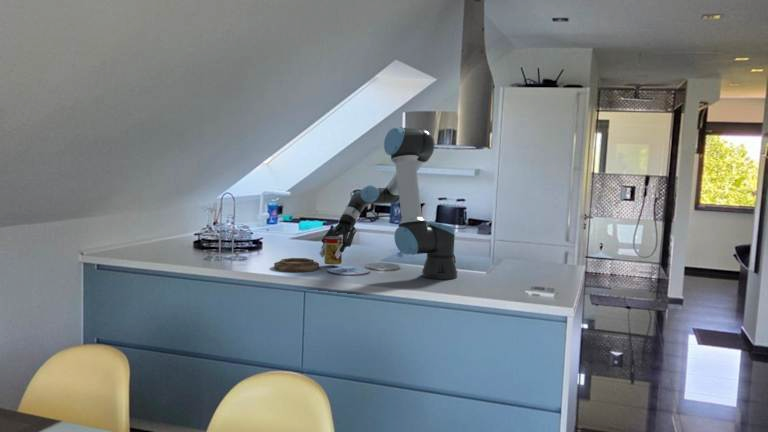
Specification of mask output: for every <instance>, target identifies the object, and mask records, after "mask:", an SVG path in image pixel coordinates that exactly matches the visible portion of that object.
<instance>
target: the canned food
mask: <svg viewBox="0 0 768 432" xmlns="http://www.w3.org/2000/svg"><path fill="white" fill-rule="evenodd" d="M342 241H343V236H328V237H325V255H324V262H323V263H324V264H325V265H331V266H332V265H333V266H334V265H335V266H336V265H341V264H342V263H343V262H342V260H343V258H342V255H343V254H342V253H343V252H342V253H341V255H340V257H339V258H338V259H337V258H336V257H335V253H336V251H337V249H338V248H339V246H340V244H342ZM342 245H343V244H342Z"/></svg>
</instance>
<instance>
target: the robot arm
mask: <svg viewBox="0 0 768 432" xmlns="http://www.w3.org/2000/svg"><path fill="white" fill-rule="evenodd" d="M383 142H384V143H383V149H384V152H385V153H386V155H389V156H390V160H391V162H392V163H393V164H395V174H394V175H393V177H392V178H391V180H390V181H389V182H388V183H387V185H386V187H376V186H375V185H373V184H370V185H367V186H365V187H363V188H362V190H356V191H354V193H353V195H352V196H351V198H350V200H349V202H348V203H347V205H346V207H345V210H344V211H343V212H342V215H341V216H340V218H339V220H338V224H337V225H335V226H334V225H333V224H332V225H330V228H329V229H328V230H327V232H326V233H325V235H324V236H323V237H322V239H321V242H322V246H321V250H320V251H319V253H318V254H319V255H320V257H321V258H324V257H325V237H328V236H337V237H340V236H341V235H342V244H340V246H339V248H338V249H337V251H336V253H335V257H336V258H337V259H338V258H339V257H340V255H341V253H344V251H345V249H346V248H347V247H349V248H350V247H351V246H352V243H353V240H354V236H355V234H356V233H357V232H358V231H357V229H356V227H355V225H356V222H357V221H358V219H359V217H360V215H361V214H362V212H363V210H364V209H366V207H368V206H369V205H381V204H383V205H384V204H389V205H390V204H391V205H394V204H399V206H400V215H401V220H400V222H398V227H397V228H396V229H395V231H394V235H393V236H394V237H393V238H394V243H395V246H396V248H397V250H399V252H400V253H401V254H403V255H411V256H414V255H424V254H426V259H425V262H424V264H423V268H422V271H421V276H422V277H424V278H428V279H434V280H452V279H453V280H454V279H456V278H458V270H457V267H456V263H455V261H454V256H455V236H456V234H455V227H454V225H452V224H447V223H442V222H434V221H429V222H427V220H426V219H425V218H423V214H422V206H421V199H420V197H421V196H420V189H419V188H420V187H419V182H418V171H419V170H420V169H421V167H422V165H423V164H424V163H427V162H429V160H430V159H431V157H432V155H433V154H434V151H435V139H434V138H433V136H432V134H431V133H430V132H429V131H428V130H426V129H423V128H420V127H419V128H412V127H411V128H410V127H403V126H401V127H393V128H390V129H389V130H388V131H387V133H386V135H385V137H384V141H383Z"/></svg>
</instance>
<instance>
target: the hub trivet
mask: <svg viewBox="0 0 768 432" xmlns="http://www.w3.org/2000/svg"><path fill="white" fill-rule="evenodd" d="M273 268H274V270H276V271H278V272H284V273H285V272H286V273H308V272H314V271H317V270H319V269H320V263H319V262H317V261H314V259H310V258H306V257H304V258H303V257H290V258H282V259H280V260H279V261H276V262H274V263H273Z"/></svg>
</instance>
